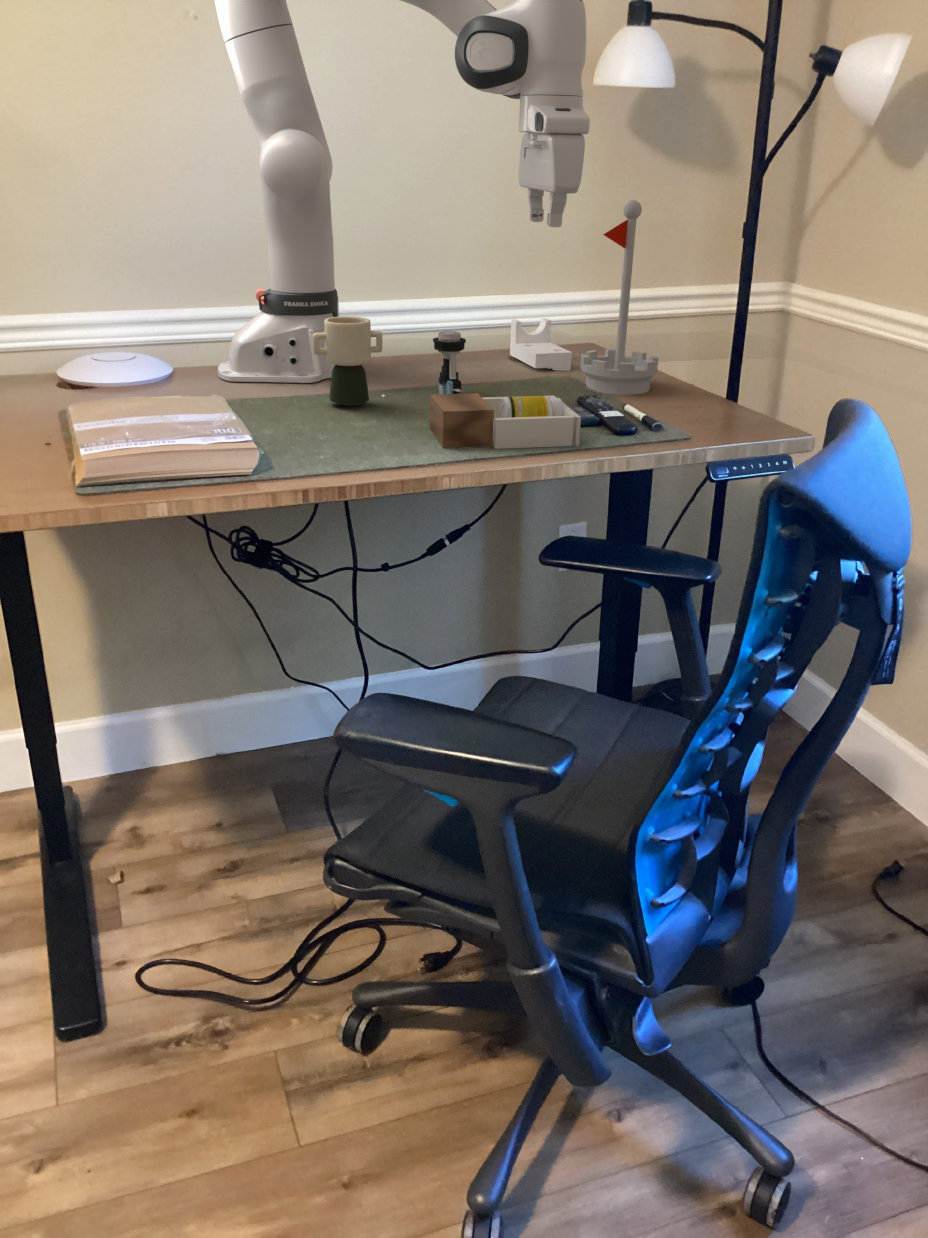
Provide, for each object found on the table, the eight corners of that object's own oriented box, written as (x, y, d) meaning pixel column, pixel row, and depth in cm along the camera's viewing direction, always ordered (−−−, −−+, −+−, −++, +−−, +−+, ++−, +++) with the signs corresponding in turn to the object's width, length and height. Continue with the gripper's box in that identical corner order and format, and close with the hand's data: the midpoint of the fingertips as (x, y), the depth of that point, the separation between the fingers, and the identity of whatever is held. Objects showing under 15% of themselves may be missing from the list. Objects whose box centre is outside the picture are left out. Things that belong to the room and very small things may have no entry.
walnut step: (442, 447, 139) (443, 411, 137) (429, 428, 148) (430, 394, 145) (492, 445, 140) (493, 409, 138) (476, 427, 149) (477, 393, 147)
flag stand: (627, 377, 183) (643, 197, 170) (670, 392, 172) (691, 202, 160) (565, 382, 178) (577, 197, 165) (605, 398, 167) (621, 202, 154)
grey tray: (495, 448, 139) (496, 419, 137) (474, 424, 150) (475, 397, 149) (578, 445, 141) (580, 417, 139) (552, 421, 153) (554, 395, 151)
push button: (473, 399, 165) (475, 336, 161) (443, 401, 163) (444, 338, 159) (456, 390, 170) (457, 329, 166) (427, 392, 168) (427, 331, 164)
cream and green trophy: (377, 397, 164) (376, 314, 159) (388, 408, 158) (388, 322, 153) (310, 401, 161) (307, 316, 156) (319, 412, 155) (316, 324, 149)
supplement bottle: (508, 423, 141) (566, 420, 143) (504, 391, 142) (562, 389, 143) (501, 435, 146) (557, 433, 147) (497, 404, 146) (553, 402, 148)
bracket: (509, 359, 197) (511, 319, 193) (543, 358, 199) (545, 318, 195) (534, 373, 185) (537, 331, 182) (570, 371, 188) (573, 329, 184)
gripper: (510, 119, 152) (507, 218, 158) (548, 117, 134) (543, 229, 140) (551, 120, 153) (546, 218, 159) (594, 119, 135) (587, 229, 141)
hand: (545, 224), depth 149 cm, fingers open, 8 cm apart
